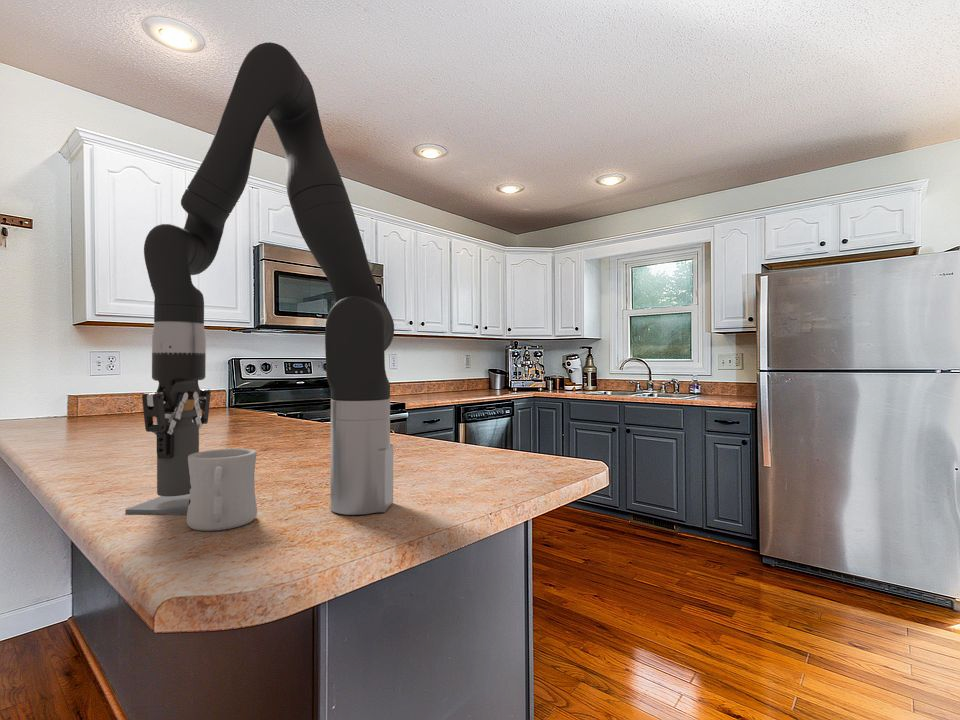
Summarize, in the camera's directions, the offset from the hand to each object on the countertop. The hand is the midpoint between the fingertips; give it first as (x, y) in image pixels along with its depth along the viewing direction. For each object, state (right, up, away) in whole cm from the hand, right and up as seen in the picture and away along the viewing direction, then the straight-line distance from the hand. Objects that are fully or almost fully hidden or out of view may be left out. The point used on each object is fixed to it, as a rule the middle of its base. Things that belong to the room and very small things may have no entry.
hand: (178, 454), depth 83 cm
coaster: (0, -8, 0) cm, 8 cm away
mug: (+12, -8, -11) cm, 18 cm away
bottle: (0, -6, 0) cm, 6 cm away
